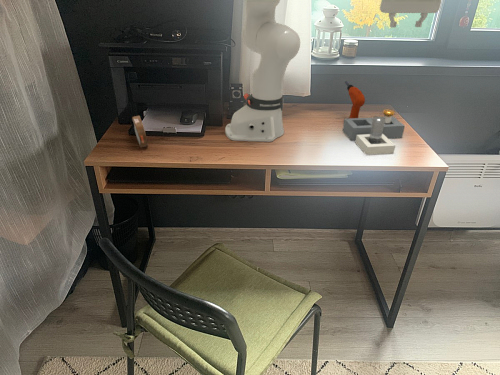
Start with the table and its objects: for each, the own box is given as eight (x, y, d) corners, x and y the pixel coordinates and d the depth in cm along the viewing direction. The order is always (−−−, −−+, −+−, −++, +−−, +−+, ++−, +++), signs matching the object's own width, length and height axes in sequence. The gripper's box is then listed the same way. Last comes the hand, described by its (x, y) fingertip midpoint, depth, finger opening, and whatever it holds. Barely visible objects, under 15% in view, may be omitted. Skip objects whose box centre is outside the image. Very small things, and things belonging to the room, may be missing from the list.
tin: (149, 150, 130) (146, 127, 126) (140, 151, 129) (136, 128, 125) (142, 133, 142) (139, 111, 137) (133, 134, 141) (130, 112, 136)
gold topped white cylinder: (381, 135, 143) (386, 113, 139) (376, 131, 147) (381, 109, 142) (391, 135, 144) (396, 112, 139) (386, 131, 147) (391, 109, 142)
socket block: (351, 140, 140) (353, 128, 137) (342, 130, 147) (344, 118, 144) (401, 138, 142) (404, 125, 140) (390, 128, 150) (393, 116, 147)
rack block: (366, 154, 130) (367, 147, 129) (355, 142, 138) (356, 134, 137) (393, 153, 132) (395, 145, 130) (380, 141, 140) (382, 133, 138)
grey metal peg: (370, 150, 133) (376, 120, 127) (365, 145, 136) (371, 116, 131) (381, 149, 134) (387, 120, 128) (375, 144, 137) (381, 115, 131)
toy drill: (345, 108, 164) (352, 74, 155) (361, 130, 150) (370, 95, 140) (334, 108, 164) (341, 75, 154) (349, 131, 149) (357, 95, 140)
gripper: (390, -18, 120) (381, 28, 128) (449, -17, 123) (437, 28, 130) (381, -20, 126) (373, 25, 133) (438, -19, 128) (427, 25, 136)
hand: (405, 27), depth 132 cm, fingers open, 8 cm apart
